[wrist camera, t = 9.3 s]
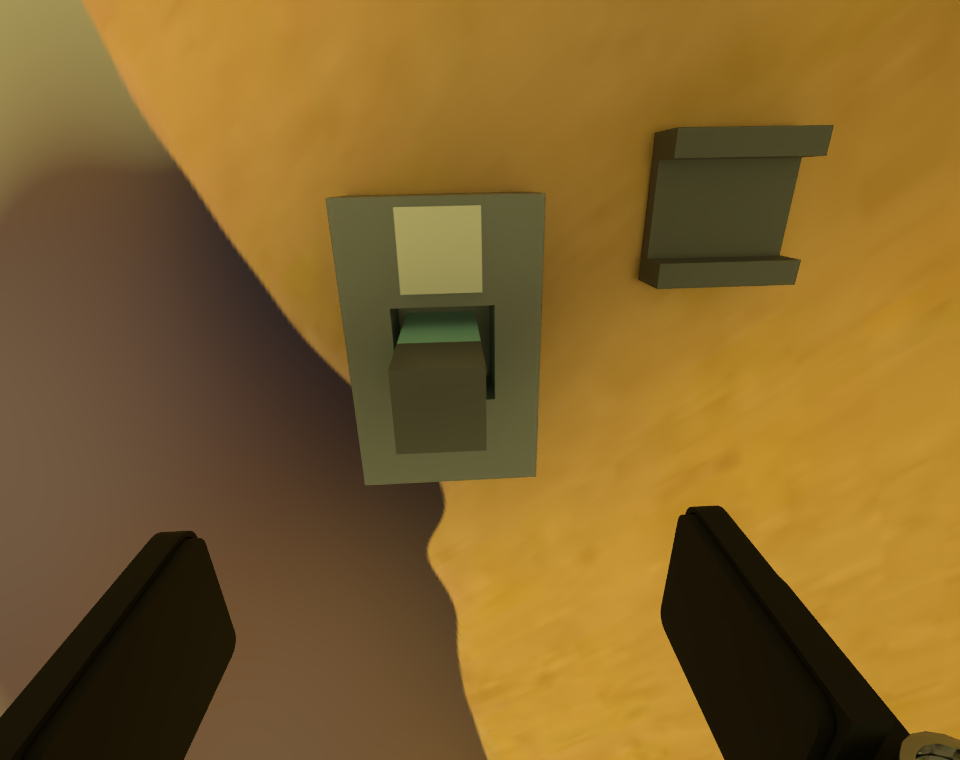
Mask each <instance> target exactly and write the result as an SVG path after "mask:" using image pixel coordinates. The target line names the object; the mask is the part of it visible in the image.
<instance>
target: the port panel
mask: <svg viewBox="0 0 960 760" xmlns="http://www.w3.org/2000/svg"><path fill="white" fill-rule="evenodd" d="M326 205H327V213H328V220H329V227H330V234H331V241H332V249H333V256H334V263H335V270H336V278H337V285H338V292H339V299H340V307H341V314H342V321H343V328H344V335H345V343H346V350H347V357H348V364H349V372H350V379H351V386H352V393H353V400H354V408H355V415H356V422H357V429H358V437H359V444H360V451H361V458H362V466H363V473H364V480H365V485H381V484H401V483H418V482H419V483H420V482H440V481H459V480H479V479H498V478H518V477H536V458H537V429H538V399H539V370H540V340H541V311H542V281H543V252H544V223H545V193H536V192H500V193H453V194H406V195H358V196H339V197H331V198H326ZM456 311H475V315H476V320H477V325H478V330H479V335H480V340H481V345H482V350H483V355H484V360H485V364H486V425H487V451H465V452H442V453H419V454H396V446H395V436H394V426H393V416H392V405H391V395H390V385H389V375H388V369H389V366H390V363H391V360H392V357H393V354H394V351H395V348H396V345H397V342H398V339H399V335H400V332H401V329H402V326H403V323H404V320H405V317H406V314H407V313H421V312H456Z"/></svg>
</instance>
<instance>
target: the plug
mask: <svg viewBox="0 0 960 760" xmlns="http://www.w3.org/2000/svg"><path fill="white" fill-rule="evenodd" d="M388 375H389V385H390V395H391V405H392V416H393V426H394V436H395V446H396V454H419V453H442V452H465V451H487V425H486V364H485V360H484V355H483V350H482V345H481V340H480V335H479V330H478V325H477V320H476V315H475V311H456V312H421V313H407V314H406V317H405V320H404V323H403V326H402V329H401V332H400V335H399V339H398V342H397V345H396V348H395V351H394V354H393V357H392V360H391V363H390V366H389V369H388Z"/></svg>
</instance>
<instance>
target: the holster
mask: <svg viewBox="0 0 960 760" xmlns="http://www.w3.org/2000/svg"><path fill="white" fill-rule="evenodd" d="M833 127H834V125H808V126H740V127H678V128H674V129H670V130H666V131H662V132H658V133H655V142H654V151H653V159H652V168H651V177H650V186H649V194H648V203H647V212H646V220H645V229H644V238H643V247H642V255H641V264H640V273H639V280H640V281H642V282H644V283H646V284H648V285H650V286H652V287H654V288H656V289H672V288H704V287H735V286H766V285H795V281H796V277H797V273H798V269H799V265H800V261H801V260H798V259H794V258H789V257H785V256H780V255H779V254H780V250H781V246H782V241H783V237H784V232H785V228H786V224H787V219H788V215H789V211H790V206H791V202H792V197H793V193H794V189H795V184H796V180H797V175H798V171H799V167H800V162H801V158H802V157H812V156H826V155H827V151H828V147H829V143H830V139H831V135H832V131H833Z"/></svg>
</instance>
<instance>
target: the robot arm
mask: <svg viewBox="0 0 960 760" xmlns="http://www.w3.org/2000/svg"><path fill="white" fill-rule="evenodd" d="M661 620H662V624H663V628H664V630H665V632H666V635H667V637H668V639H669V641H670V643H671V645H672V647H673V650H674V652H675V654H676V656H677V658H678V660H679V663H680V665H681V667H682V669H683V671H684V673H685V676H686V678H687V680H688V682H689V684H690V686H691V689H692V691H693V693H694V695H695V697H696V699H697V701H698V704H699V706H700V708H701V710H702V712H703V714H704V717H705V719H706V721H707V723H708V725H709V727H710V730H711V732H712V734H713V736H714V738H715V740H716V742H717V745H718V747H719V749H720V751H721V753H722V755H723V758H724V760H960V740H958V739H955V738H952V737H950V736H947V735H945V734H939V733H933V732H927V731H924V732H919V733H913V734H909V733H908V731H907V730H906V729H905V728H904V726H903V725H902V724H901V723H900V722H899V720H898V719H897V718H896V717H895V715H894V714H893V713H892V712H891V711H890V709H889V708H888V707H887V706H886V704H885V703H884V702H883V701H882V700H881V698H880V697H879V696H878V695H877V693H876V692H875V691H874V690H873V689H872V687H871V686H870V685H869V684H868V682H867V681H866V680H865V679H864V678H863V676H862V675H861V674H860V673H859V671H858V670H857V669H856V668H855V667H854V665H853V664H852V663H851V662H850V660H849V659H848V658H847V657H846V656H845V654H844V653H843V652H842V651H841V649H840V648H839V647H838V646H837V645H836V643H835V642H834V641H833V640H832V638H831V637H830V636H829V635H828V633H827V632H826V631H825V630H824V629H823V627H822V626H821V625H820V624H819V622H818V621H817V620H816V619H815V618H814V616H813V615H812V614H811V613H810V611H809V610H808V609H807V608H806V607H805V605H804V604H803V603H802V602H801V600H800V599H799V598H798V597H797V596H796V594H795V593H794V592H793V591H792V589H791V588H790V587H789V586H788V585H787V584H786V583H785V582H784V581H783V580H782V579H781V578H780V577H779V576H778V575H777V573H776V572H775V571H774V570H773V569H772V567H771V566H770V565H769V564H768V562H767V561H766V560H765V559H764V557H763V556H762V555H761V554H760V553H759V551H758V550H757V549H756V548H755V546H754V545H753V544H752V543H751V541H750V540H749V539H748V538H747V537H746V535H745V534H744V533H743V532H742V530H741V529H740V528H739V527H738V525H737V524H736V523H735V522H734V521H733V519H732V518H731V517H730V516H729V514H728V513H727V512H726V511H725V510H724V509H723V508H722V507H720V506H699V507H689V508H688V509H687V511H686V514H685V515H680V517H679V519H678V522H677V528H676V533H675V538H674V543H673V548H672V553H671V559H670V564H669V569H668V574H667V579H666V585H665V590H664V595H663V600H662V605H661ZM235 643H236V635H235V631H234V628H233V625H232V622H231V619H230V616H229V613H228V610H227V606H226V604H225V601H224V597H223V594H222V591H221V588H220V585H219V582H218V579H217V576H216V573H215V570H214V567H213V564H212V561H211V558H210V555H209V552H208V549H207V546H206V543H205V541H204V540H203V539H202V538H197V536H196V534H195V533H194V532H193V531H176V532H160V533H157V534H155V535H154V536H153V537H152V538H151V539H150V540H149V541H148V543H147V544H146V545H145V546H144V547H143V549H142V550H141V551H140V552H139V553H138V554H137V556H136V557H135V558H134V559H133V560H132V562H131V563H130V564H129V565H128V566H127V568H126V569H125V570H124V571H123V572H122V573H121V575H120V576H119V577H118V578H117V579H116V581H115V582H114V583H113V584H112V585H111V587H110V588H109V589H108V590H107V592H105V594H104V595H103V596H102V597H101V598H100V600H99V601H98V602H97V603H96V604H95V606H94V607H93V608H92V609H91V610H90V612H89V613H88V614H87V615H86V616H85V617H84V619H83V620H82V621H81V622H80V624H79V625H78V626H77V627H76V628H75V629H74V631H73V632H72V633H71V634H70V635H69V636H68V638H67V639H66V640H65V641H64V642H63V644H62V645H61V646H60V647H59V648H58V650H57V651H56V652H55V653H54V654H53V656H52V657H51V658H50V659H49V660H48V661H47V663H46V664H45V665H44V666H43V667H42V669H41V670H40V671H39V672H38V673H37V674H36V676H35V677H34V678H33V679H32V680H31V682H30V683H29V684H28V685H27V686H26V688H25V689H24V690H23V691H22V692H21V694H20V695H19V696H18V697H17V698H16V699H15V701H14V702H13V703H12V704H11V705H10V707H9V708H8V709H7V710H6V711H5V713H4V714H3V715H2V716H1V717H0V760H184V758H185V756H186V753H187V751H188V749H189V747H190V745H191V743H192V741H193V738H194V736H195V734H196V732H197V730H198V728H199V726H200V723H201V721H202V719H203V717H204V715H205V713H206V711H207V709H208V706H209V704H210V702H211V700H212V698H213V695H214V693H215V691H216V689H217V687H218V685H219V683H220V681H221V678H222V676H223V674H224V672H225V670H226V668H227V665H228V663H229V661H230V659H231V657H232V655H233V652H234V648H235Z"/></svg>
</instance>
